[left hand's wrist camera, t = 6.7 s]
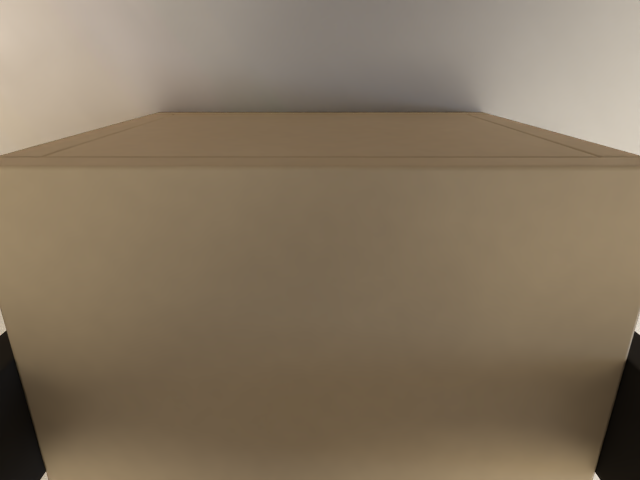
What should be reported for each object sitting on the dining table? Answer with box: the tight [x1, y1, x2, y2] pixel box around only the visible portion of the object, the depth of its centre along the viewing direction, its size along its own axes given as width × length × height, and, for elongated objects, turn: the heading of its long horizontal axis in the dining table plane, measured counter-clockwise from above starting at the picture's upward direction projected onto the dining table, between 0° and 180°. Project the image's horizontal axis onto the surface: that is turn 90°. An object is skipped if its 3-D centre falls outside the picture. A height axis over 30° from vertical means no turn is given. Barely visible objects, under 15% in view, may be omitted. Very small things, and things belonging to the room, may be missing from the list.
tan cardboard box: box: [0, 112, 640, 480], centre depth 14 cm, size 17×11×9 cm, turn 0°
